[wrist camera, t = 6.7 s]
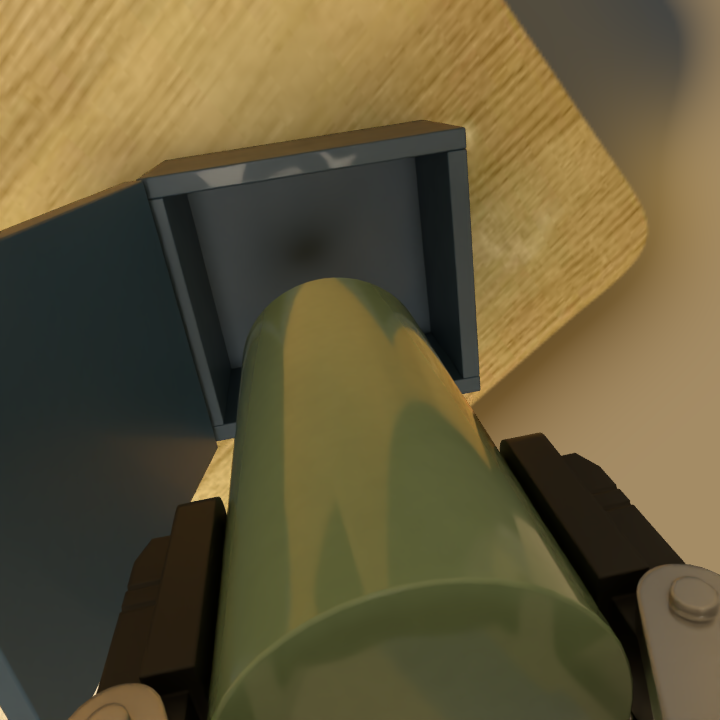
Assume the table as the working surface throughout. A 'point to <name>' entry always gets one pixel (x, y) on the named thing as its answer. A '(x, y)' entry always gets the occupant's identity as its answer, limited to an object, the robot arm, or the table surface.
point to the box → (318, 239)
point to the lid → (86, 437)
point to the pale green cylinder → (388, 540)
